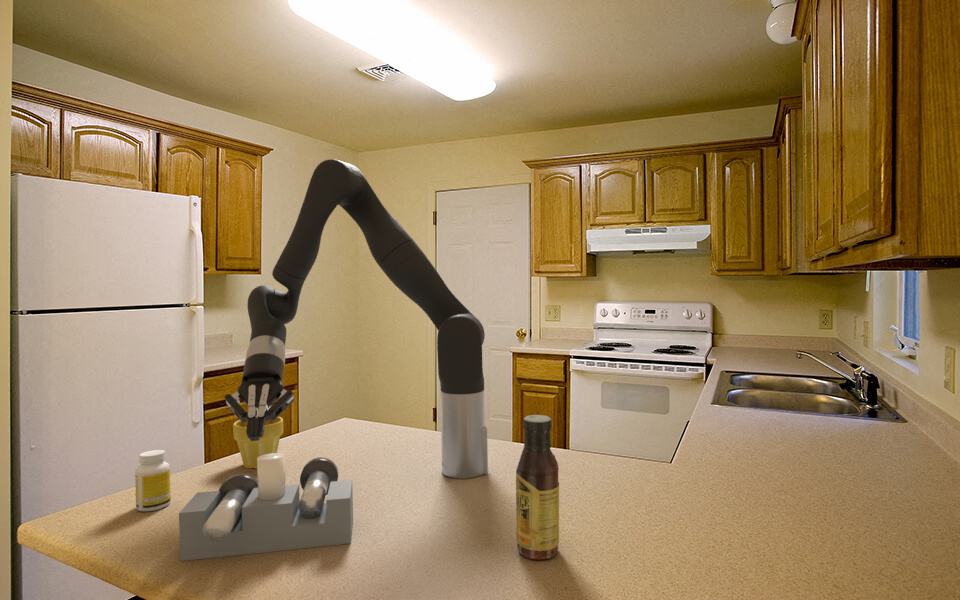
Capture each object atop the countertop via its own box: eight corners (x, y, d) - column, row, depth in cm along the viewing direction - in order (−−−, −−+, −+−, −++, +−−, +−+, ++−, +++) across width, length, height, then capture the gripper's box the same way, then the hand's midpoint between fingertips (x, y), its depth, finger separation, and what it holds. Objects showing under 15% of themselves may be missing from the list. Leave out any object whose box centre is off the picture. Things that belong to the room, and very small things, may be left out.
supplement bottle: (177, 502, 100) (176, 449, 100) (151, 514, 95) (149, 458, 95) (155, 499, 102) (154, 447, 101) (128, 510, 97) (127, 456, 96)
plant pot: (266, 473, 115) (265, 427, 115) (223, 470, 117) (222, 425, 117) (292, 457, 126) (291, 416, 125) (253, 455, 128) (252, 414, 127)
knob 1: (262, 509, 90) (261, 471, 90) (241, 549, 76) (240, 504, 76) (220, 513, 89) (219, 474, 88) (192, 554, 75) (191, 508, 75)
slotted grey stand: (353, 521, 90) (352, 479, 90) (351, 543, 82) (350, 498, 82) (198, 536, 86) (197, 492, 86) (180, 561, 78) (178, 513, 78)
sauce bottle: (513, 543, 82) (511, 412, 81) (554, 540, 82) (552, 411, 82) (520, 565, 75) (518, 423, 75) (564, 562, 76) (562, 421, 75)
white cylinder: (287, 489, 86) (286, 452, 86) (283, 498, 82) (282, 459, 82) (261, 491, 86) (260, 454, 85) (255, 501, 82) (254, 461, 82)
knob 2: (338, 491, 98) (338, 456, 97) (332, 524, 84) (331, 483, 84) (301, 494, 96) (301, 458, 96) (289, 528, 83) (288, 486, 82)
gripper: (226, 353, 106) (210, 430, 95) (296, 350, 109) (289, 425, 97) (233, 375, 112) (219, 452, 100) (300, 372, 114) (294, 446, 103)
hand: (254, 438), depth 99 cm, fingers closed
